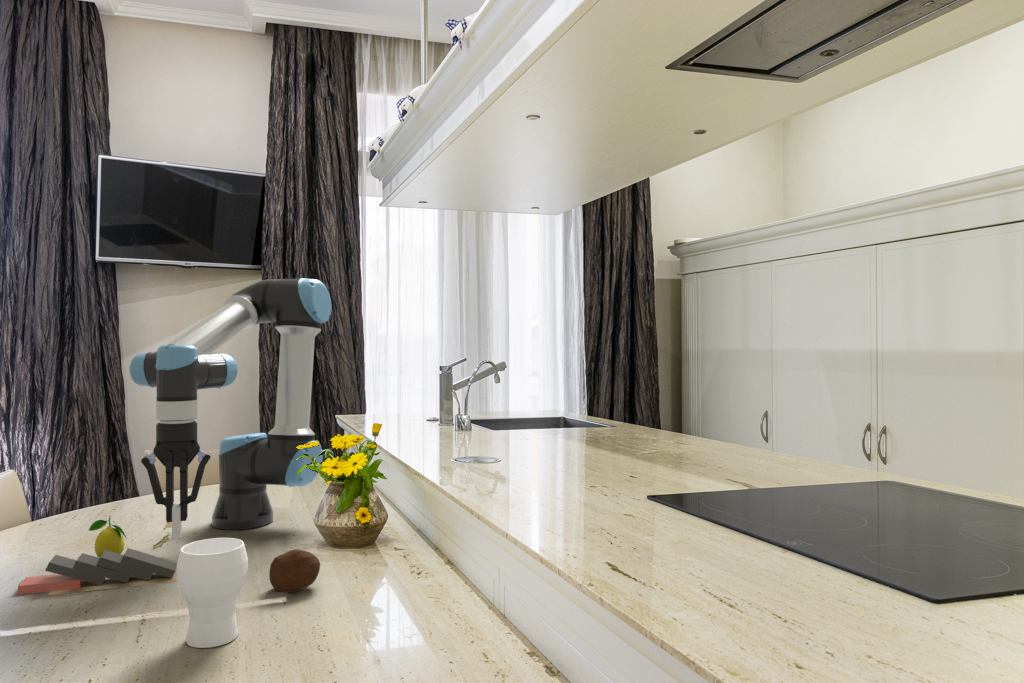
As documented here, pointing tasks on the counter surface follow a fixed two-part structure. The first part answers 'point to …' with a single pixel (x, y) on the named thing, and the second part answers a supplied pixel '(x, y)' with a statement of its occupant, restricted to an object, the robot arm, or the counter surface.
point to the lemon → (108, 538)
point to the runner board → (119, 583)
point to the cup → (212, 588)
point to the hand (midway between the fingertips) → (176, 537)
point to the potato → (293, 570)
